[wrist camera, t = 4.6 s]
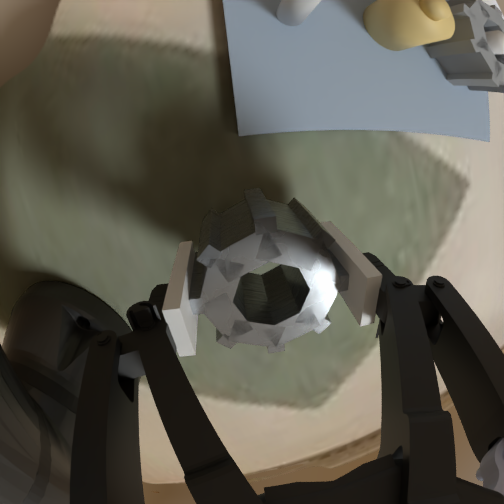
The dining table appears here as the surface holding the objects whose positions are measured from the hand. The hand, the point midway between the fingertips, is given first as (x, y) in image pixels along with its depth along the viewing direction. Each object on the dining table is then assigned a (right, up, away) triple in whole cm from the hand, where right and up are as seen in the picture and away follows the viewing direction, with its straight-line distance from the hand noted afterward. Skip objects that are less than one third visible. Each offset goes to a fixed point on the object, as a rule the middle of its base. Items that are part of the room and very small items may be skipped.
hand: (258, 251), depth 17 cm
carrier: (+9, +16, -4) cm, 19 cm away
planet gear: (0, 0, 0) cm, 0 cm away
